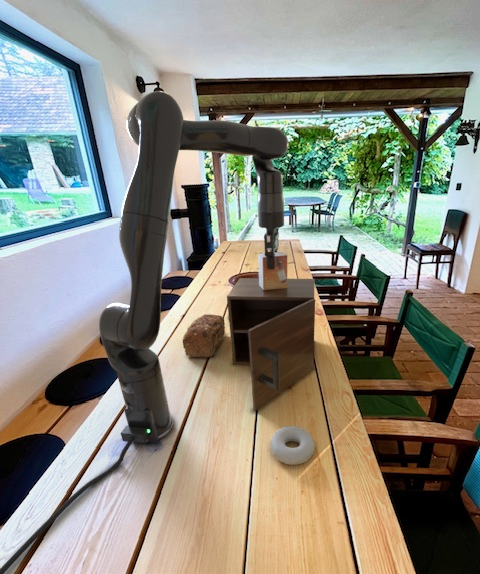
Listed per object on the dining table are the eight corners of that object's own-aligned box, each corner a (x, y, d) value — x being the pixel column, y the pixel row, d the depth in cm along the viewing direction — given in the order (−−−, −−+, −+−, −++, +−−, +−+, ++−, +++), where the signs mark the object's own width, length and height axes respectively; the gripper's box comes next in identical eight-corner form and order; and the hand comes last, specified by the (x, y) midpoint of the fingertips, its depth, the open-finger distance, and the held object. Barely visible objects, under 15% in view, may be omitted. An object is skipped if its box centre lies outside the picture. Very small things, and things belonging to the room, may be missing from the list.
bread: (213, 359, 110) (209, 332, 106) (183, 357, 111) (179, 331, 107) (227, 334, 127) (224, 310, 122) (201, 333, 128) (197, 310, 124)
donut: (323, 447, 73) (287, 427, 79) (323, 435, 72) (287, 416, 78) (298, 477, 66) (261, 453, 72) (298, 465, 65) (260, 441, 71)
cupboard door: (329, 375, 98) (332, 303, 88) (271, 421, 81) (268, 338, 71) (311, 368, 102) (313, 298, 92) (253, 409, 85) (247, 329, 75)
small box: (263, 291, 99) (261, 257, 95) (258, 285, 104) (257, 253, 100) (287, 288, 101) (287, 254, 97) (282, 282, 106) (282, 251, 102)
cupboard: (312, 368, 103) (314, 297, 93) (233, 364, 106) (226, 296, 96) (313, 341, 119) (314, 278, 109) (244, 338, 122) (239, 278, 113)
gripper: (261, 207, 100) (264, 260, 107) (253, 212, 87) (256, 272, 94) (286, 207, 99) (286, 260, 106) (281, 212, 86) (282, 272, 93)
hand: (272, 265), depth 100 cm, fingers closed on small box, 7 cm apart
